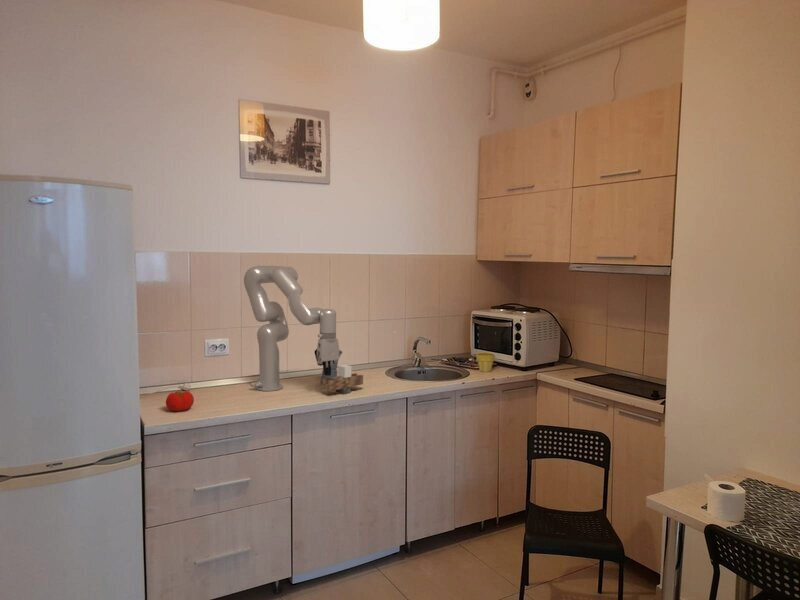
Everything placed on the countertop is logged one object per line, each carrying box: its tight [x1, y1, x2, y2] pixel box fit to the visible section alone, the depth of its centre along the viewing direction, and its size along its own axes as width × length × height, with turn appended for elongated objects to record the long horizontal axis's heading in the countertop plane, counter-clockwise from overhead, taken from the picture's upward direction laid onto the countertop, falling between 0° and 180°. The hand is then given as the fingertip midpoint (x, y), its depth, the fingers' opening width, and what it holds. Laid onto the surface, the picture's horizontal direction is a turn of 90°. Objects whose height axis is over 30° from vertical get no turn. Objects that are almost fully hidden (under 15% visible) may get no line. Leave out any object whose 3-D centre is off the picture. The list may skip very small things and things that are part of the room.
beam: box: [321, 372, 364, 395], centre depth 260 cm, size 20×6×7 cm, turn 134°
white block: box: [337, 364, 352, 379], centre depth 261 cm, size 4×5×7 cm
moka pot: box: [314, 348, 343, 384], centre depth 278 cm, size 10×15×20 cm, turn 78°
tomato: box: [165, 390, 195, 413], centre depth 229 cm, size 11×11×8 cm
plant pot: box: [475, 352, 496, 373], centre depth 313 cm, size 10×10×10 cm
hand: (327, 375), depth 254 cm, fingers closed
